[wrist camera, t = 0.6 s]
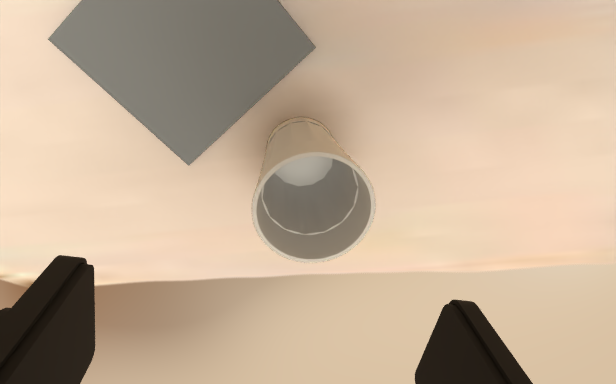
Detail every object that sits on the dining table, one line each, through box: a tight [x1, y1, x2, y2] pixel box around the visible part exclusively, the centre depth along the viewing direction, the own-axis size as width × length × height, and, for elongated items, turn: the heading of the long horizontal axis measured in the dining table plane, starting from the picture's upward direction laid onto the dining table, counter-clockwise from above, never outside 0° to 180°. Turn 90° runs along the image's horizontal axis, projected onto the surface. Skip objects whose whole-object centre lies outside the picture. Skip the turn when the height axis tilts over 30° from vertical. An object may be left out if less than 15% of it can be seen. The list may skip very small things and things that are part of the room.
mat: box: [48, 0, 316, 165], centre depth 31 cm, size 15×14×1 cm
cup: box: [252, 117, 376, 263], centre depth 30 cm, size 8×8×12 cm
